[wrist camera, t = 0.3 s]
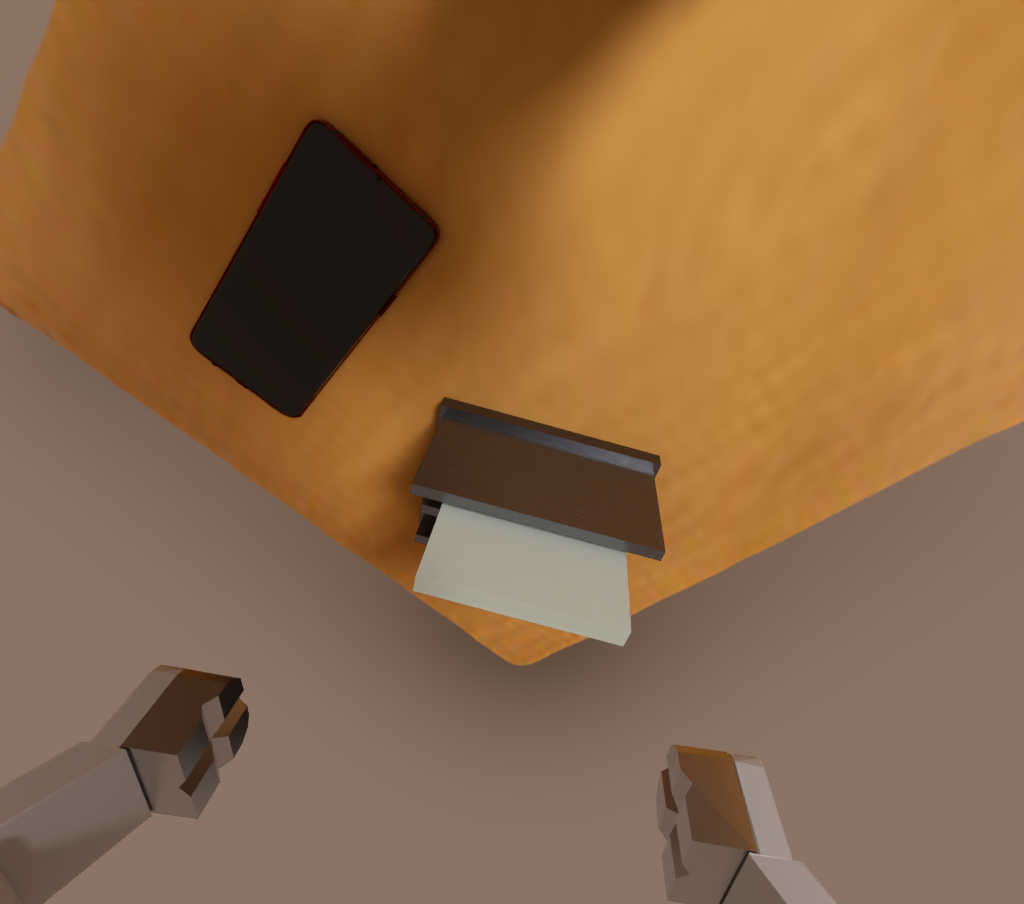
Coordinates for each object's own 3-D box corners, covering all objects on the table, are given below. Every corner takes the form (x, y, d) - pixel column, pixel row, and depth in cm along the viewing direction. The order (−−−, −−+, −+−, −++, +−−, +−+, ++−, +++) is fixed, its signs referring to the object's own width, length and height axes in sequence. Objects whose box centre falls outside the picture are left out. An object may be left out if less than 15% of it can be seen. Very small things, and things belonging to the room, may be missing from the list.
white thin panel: (467, 434, 52) (415, 575, 37) (620, 476, 52) (631, 632, 37) (464, 448, 53) (412, 590, 38) (615, 489, 53) (623, 646, 38)
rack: (444, 397, 51) (406, 474, 41) (659, 455, 52) (675, 547, 42) (422, 514, 60) (385, 603, 50) (607, 563, 60) (609, 662, 50)
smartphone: (180, 344, 51) (310, 109, 39) (191, 337, 52) (319, 108, 40) (293, 426, 55) (445, 235, 42) (300, 418, 56) (449, 230, 44)
